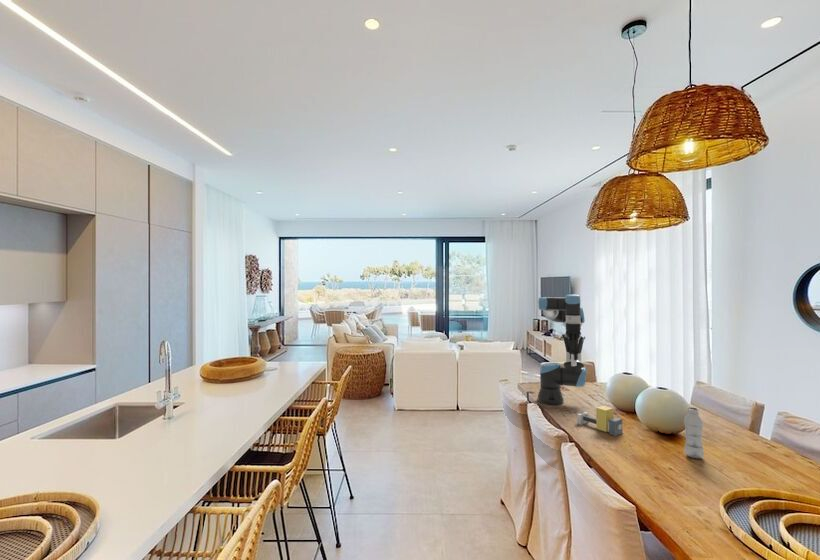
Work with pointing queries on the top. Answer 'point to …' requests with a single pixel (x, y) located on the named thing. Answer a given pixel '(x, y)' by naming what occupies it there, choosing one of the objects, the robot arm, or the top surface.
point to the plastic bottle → (693, 434)
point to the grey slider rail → (613, 423)
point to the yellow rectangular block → (603, 417)
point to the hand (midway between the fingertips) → (573, 365)
